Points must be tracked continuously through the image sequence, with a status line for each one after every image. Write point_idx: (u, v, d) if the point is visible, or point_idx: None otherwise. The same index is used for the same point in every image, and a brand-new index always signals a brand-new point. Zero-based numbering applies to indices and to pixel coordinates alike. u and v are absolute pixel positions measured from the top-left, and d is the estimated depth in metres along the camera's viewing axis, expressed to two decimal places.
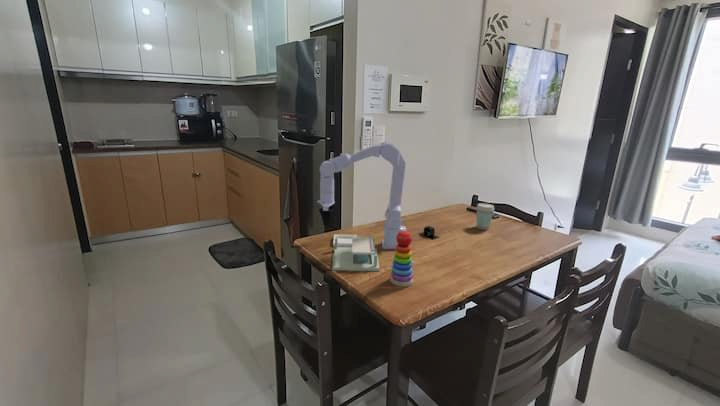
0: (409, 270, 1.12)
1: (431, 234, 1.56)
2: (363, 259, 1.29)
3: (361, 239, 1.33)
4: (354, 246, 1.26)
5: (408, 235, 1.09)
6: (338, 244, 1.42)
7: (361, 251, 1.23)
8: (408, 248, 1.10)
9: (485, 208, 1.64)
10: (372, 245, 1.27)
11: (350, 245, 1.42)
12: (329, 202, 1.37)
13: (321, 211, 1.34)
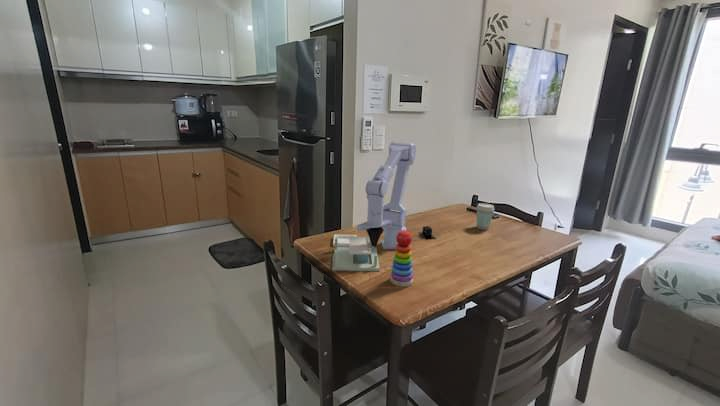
0: (409, 270, 1.12)
1: (427, 234, 1.56)
2: (363, 259, 1.29)
3: (358, 239, 1.33)
4: (351, 246, 1.26)
5: (408, 235, 1.09)
6: (338, 244, 1.42)
7: (358, 251, 1.23)
8: (408, 248, 1.10)
9: (485, 208, 1.64)
10: (369, 245, 1.27)
11: None
12: (370, 224, 1.24)
13: (366, 229, 1.28)
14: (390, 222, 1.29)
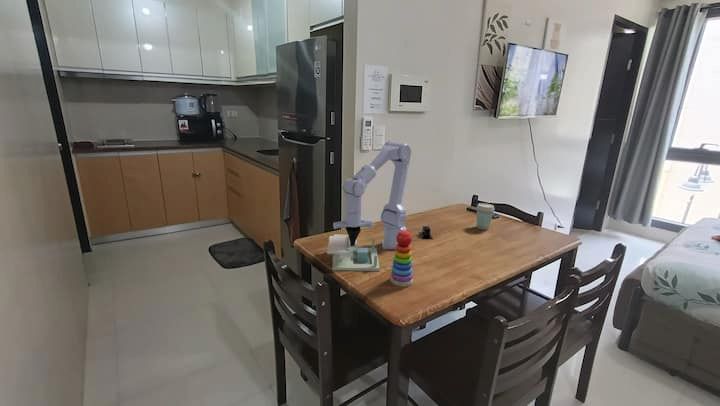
0: (409, 270, 1.12)
1: (425, 234, 1.56)
2: (363, 259, 1.29)
3: (338, 238, 1.33)
4: (330, 246, 1.26)
5: (408, 235, 1.09)
6: None
7: (336, 250, 1.22)
8: (408, 248, 1.10)
9: (485, 208, 1.64)
10: (348, 244, 1.27)
11: (350, 245, 1.42)
12: (346, 223, 1.25)
13: None
14: (370, 223, 1.27)
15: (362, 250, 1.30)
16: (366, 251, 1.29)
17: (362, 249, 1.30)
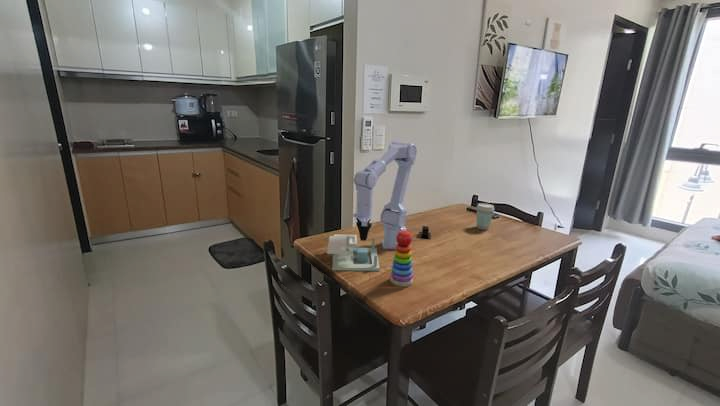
0: (409, 270, 1.12)
1: (423, 234, 1.56)
2: (363, 259, 1.29)
3: (338, 238, 1.33)
4: (330, 246, 1.26)
5: (408, 235, 1.09)
6: None
7: (336, 250, 1.22)
8: (408, 248, 1.10)
9: (485, 208, 1.64)
10: (348, 244, 1.27)
11: (350, 245, 1.42)
12: (367, 216, 1.23)
13: (359, 225, 1.22)
14: None
15: (362, 250, 1.30)
16: (366, 251, 1.29)
17: (362, 249, 1.30)
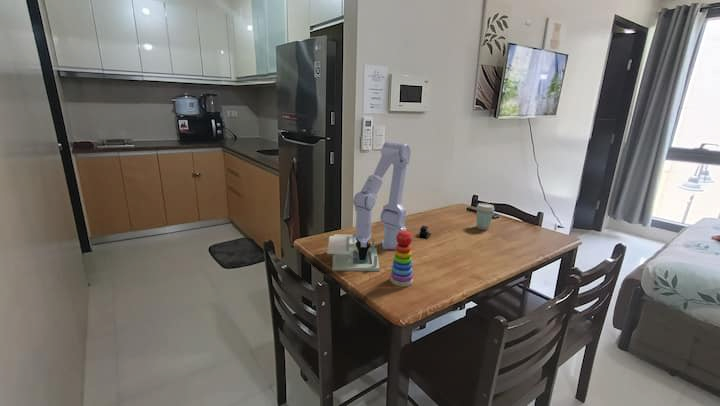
0: (409, 270, 1.12)
1: (421, 233, 1.57)
2: None
3: (338, 238, 1.33)
4: (330, 246, 1.26)
5: (408, 235, 1.09)
6: None
7: (336, 250, 1.22)
8: (408, 248, 1.10)
9: (485, 208, 1.64)
10: (348, 244, 1.27)
11: (350, 245, 1.42)
12: (366, 237, 1.25)
13: (358, 245, 1.24)
14: None
15: None
16: None
17: None
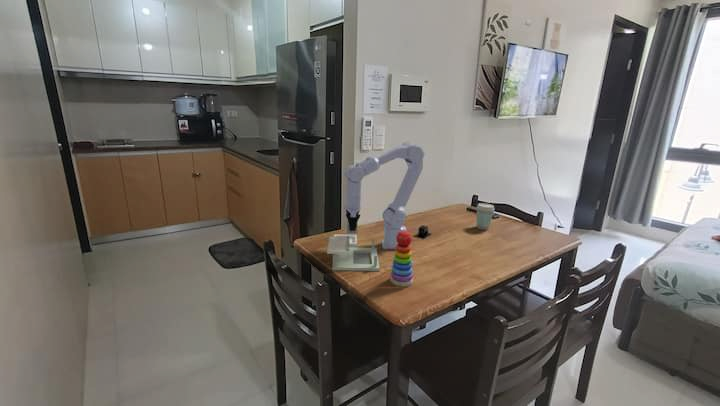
0: (409, 270, 1.12)
1: (419, 233, 1.58)
2: None
3: (338, 238, 1.33)
4: (330, 246, 1.26)
5: (408, 235, 1.09)
6: None
7: (336, 250, 1.22)
8: (408, 248, 1.10)
9: (485, 208, 1.64)
10: (348, 244, 1.27)
11: (350, 245, 1.42)
12: (356, 208, 1.32)
13: (348, 216, 1.31)
14: None
15: None
16: None
17: None
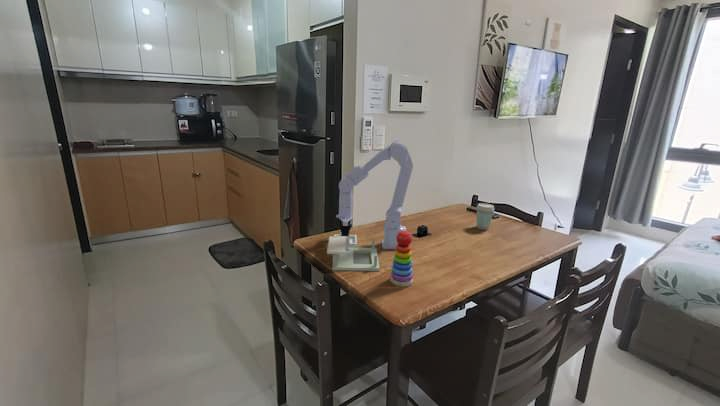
0: (409, 270, 1.12)
1: (418, 232, 1.59)
2: None
3: (338, 238, 1.33)
4: (330, 246, 1.26)
5: (408, 235, 1.09)
6: None
7: (336, 250, 1.22)
8: (408, 248, 1.10)
9: (485, 208, 1.64)
10: (348, 244, 1.27)
11: (350, 245, 1.42)
12: (348, 217, 1.41)
13: (341, 226, 1.38)
14: None
15: None
16: None
17: None
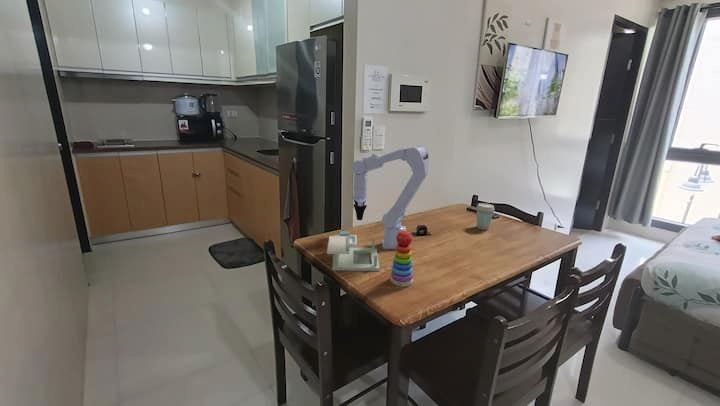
0: (409, 270, 1.12)
1: (417, 231, 1.60)
2: None
3: (338, 238, 1.33)
4: (330, 246, 1.26)
5: (408, 235, 1.09)
6: None
7: (336, 250, 1.22)
8: (408, 248, 1.10)
9: (485, 208, 1.64)
10: (348, 244, 1.27)
11: (350, 245, 1.42)
12: (362, 198, 1.45)
13: (356, 206, 1.43)
14: None
15: (345, 233, 1.46)
16: (348, 234, 1.45)
17: (344, 232, 1.46)
